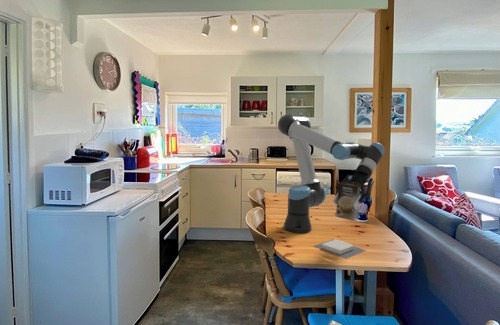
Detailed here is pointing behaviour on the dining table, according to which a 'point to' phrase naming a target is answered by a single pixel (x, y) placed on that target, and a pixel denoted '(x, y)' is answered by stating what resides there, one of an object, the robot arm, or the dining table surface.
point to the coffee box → (347, 200)
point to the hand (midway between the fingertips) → (344, 205)
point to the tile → (337, 246)
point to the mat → (345, 255)
